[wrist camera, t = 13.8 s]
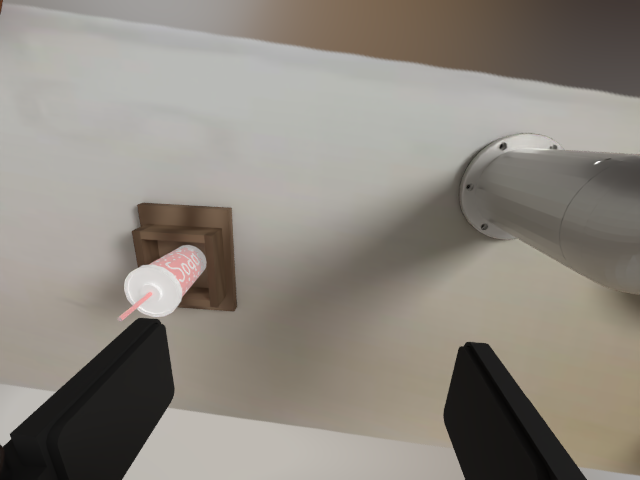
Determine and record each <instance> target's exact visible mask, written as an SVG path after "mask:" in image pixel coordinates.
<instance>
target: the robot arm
mask: <svg viewBox="0 0 640 480" xmlns="http://www.w3.org/2000/svg"><path fill="white" fill-rule="evenodd" d="M500 144H501V148H499V146H500ZM549 148H550V149H549ZM467 185H469V187H468V188H466V186H467ZM459 199H460V206H461V209H462V212H463V214H464V216H465V218H466V219H467V221H468V222H469V223H470V224H471V225H472V226H473V227H474V228H475V229H476V230H478V231H479V232H481V233H483V234H485V235H487V236H489V237H492V238H496V239H505V240H511V239H519V240H521V241H523V242H525V243H526V244H528V245H530V246H532V247H533V248H535V249H537V250H539V251H540V252H542V253H544V254H546V255H547V256H549V257H551V258H553V259H554V260H556V261H558V262H560V263H561V264H563V265H565V266H567V267H568V268H570V269H572V270H574V271H575V272H577V273H579V274H581V275H583V276H585V277H587V278H588V279H590V280H592V281H594V282H596V283H598V284H600V285H602V286H605V287H607V288H610V289H613V290H616V291H620V292H625V293H631V294H639V295H640V154H624V153H607V152H590V151H573V150H565V149H564V148H563V147H562V146H561V145H560V144H559V143H558V142H556V141H555V140H553V139H552V138H549V137H546V136H544V135H539V134H533V133H521V134H514V135H509V136H506V137H503V138H500V139H498V140H496V141H495V142H493V143H491V144H489V145H488V146H487V147H485V148H484V149H483V150H481V151H480V152H479V153H478V154H477V155H476V156H475V158H474V159H473V160H472V161H471V163H470V164H469V166H468V167H467V169H466V171H465V173H464V175H463V178H462V181H461V185H460V193H459ZM482 224H483V226H481V225H482ZM173 396H174V382H173V375H172V369H171V362H170V355H169V348H168V342H167V335H166V328H165V326H164V325H163V324H161V322H160V321H159V320H158V319H149V318H138V319H137V320H135V321H134V322H133V323H132V324H131V325H130V326H129V327H128V328H127V329H125V330H124V331H123V332H122V333H121V334H120V335H119V336H118V337H117V338H115V339H114V340H113V341H112V342H111V343H110V344H109V345H108V346H107V347H106V348H104V349H103V350H102V351H101V352H100V353H99V354H98V355H97V356H96V357H94V358H93V359H92V360H91V361H90V362H89V363H88V364H87V365H86V366H85V367H83V368H82V369H81V370H80V371H79V372H78V373H77V374H76V375H75V376H73V377H72V378H71V379H70V380H69V381H68V382H67V383H66V384H65V385H64V386H62V387H61V388H60V389H59V390H58V391H57V392H56V393H55V394H54V395H53V396H51V397H50V398H49V399H48V400H47V401H46V402H45V403H44V404H43V405H41V406H40V407H39V408H38V409H37V410H36V411H35V412H34V413H33V414H32V415H30V416H29V417H28V418H27V419H26V420H25V421H24V422H23V423H22V424H21V425H20V426H18V427H17V428H16V429H15V430H14V431H13V432H12V433H11V434H10V436H11V440H10V441H9V442H8V443H7V444H6V445H4V446H3V447H2V446H1V445H0V480H122V479H123V477H124V475H125V474H126V472H127V471H128V469H129V467H130V466H131V464H132V463H133V461H134V460H135V458H136V456H137V455H138V453H139V452H140V450H141V449H142V447H143V445H144V444H145V442H146V440H147V439H148V437H149V436H150V434H151V433H152V431H153V430H154V428H155V426H156V425H157V423H158V422H159V420H160V418H161V417H162V415H163V414H164V412H165V411H166V409H167V407H168V406H169V404H170V403H171V401H172V399H173ZM444 423H445V426H446V429H447V431H448V434H449V437H450V439H451V442H452V445H453V448H454V450H455V453H456V456H457V458H458V461H459V464H460V467H461V469H462V472H463V475H464V477H465V480H587V479H586V478H585V476H584V475H583V474H582V472H581V471H580V469H579V468H578V467H577V465H576V464H575V462H574V461H573V460H572V458H571V457H570V456H569V454H568V453H567V451H566V450H565V449H564V447H563V446H562V445H561V443H560V442H559V440H558V439H557V438H556V436H555V435H554V433H553V432H552V431H551V429H550V428H549V427H548V425H547V424H546V422H545V421H544V420H543V418H542V417H541V416H540V414H539V413H538V411H537V410H536V409H535V407H534V406H533V404H532V403H531V402H530V400H529V399H528V398H527V397H526V396H525V394H524V393H523V391H522V390H521V389H520V387H519V386H518V384H517V383H516V382H515V380H514V379H513V378H512V376H511V375H510V373H509V372H508V371H507V369H506V368H505V366H504V365H503V364H502V362H501V361H500V360H499V358H498V357H497V355H496V354H495V353H494V351H493V350H492V348H491V347H490V346H489V345H488V344H486V343H475V342H466V343H465V345H464V347H463V346H461V347H460V348H459V350H458V354H457V358H456V362H455V366H454V370H453V375H452V379H451V383H450V387H449V391H448V395H447V400H446V404H445V408H444Z"/></svg>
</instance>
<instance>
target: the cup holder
mask: <svg viewBox="0 0 640 480" xmlns="http://www.w3.org/2000/svg"><path fill="white" fill-rule="evenodd" d="M137 206H138V212H139V219H140V225H141V227H139V228H137V229H135V230H133V231H132V235H133V241H134V247H135V252H136V258H137V264H138V268H139V267H141V266H142V265H149V264H151V263H152V262H154V261H156V260H158V259H160V258H161V257H163V256H165V255H167V254H168V253H170V252H172V251H174V250H176V249H177V248H179V247H181V246H183V245H191V246H195V247H197V248H198V249H199V250H201V251H202V253H203V254H204V255H205V258H206V268H205V270H204V271H203V272H202V274H201V275H200V276H199V277H198V278H197V280H196V281H195V282H194V283H193V285H192V286H191V287H190V288H189V289H188V291H187V292H186V293H185V294H184V296H183V297H182V299H181V302H180V303H179V305H178V306H177V307H181V308H195V309H209V310H223V311H235V309H236V307H237V301H236V282H235V264H234V245H233V227H232V208H224V207H207V206H189V205H172V204H154V203H141V204H138V205H137Z"/></svg>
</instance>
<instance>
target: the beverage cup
mask: <svg viewBox="0 0 640 480" xmlns="http://www.w3.org/2000/svg"><path fill="white" fill-rule="evenodd" d="M205 268H206V258H205V255H204V254H203V253H202V251H201V250H199V249H198V248H197V247H195V246H191V245H183V246H181V247H179V248H177V249H176V250H174V251H172V252H170V253H168V254H167V255H165V256H163V257H161V258H160V259H158V260H156V261H154V262H152V263H151V264H149V265H142V266H141V267H139V268H137V269H135V270H133V271H132V272H130V273H129V275H128V276H127V278H126V279H125V284H124V291H125V294H126V297H127V299H128V301H129V302H130V303H131V304H132V305H133V306H131V307H130V308H129V309H128V310H126V311H125V312H124V313H123V314H122V315H120V316H119V317H118V318H117V320H118V321H120V322H121V321H122V320H124V319H125V318H126V317H127V316H128V315H130V314H131V313H132V312H133V311H134V310H135V309H137V310H138V311H140V312H142V313H143V314H146V315H149V316H153V317H160V316H166V315H168V314H170V313H172V312H173V311H174V310H175V309H176V307H177V306H178V305H179V303H180V302H181V299H182V297H183V296H184V294H185V293H186V292H187V291H188V289H189V288H190V287H191V286H192V285H193V283H194V282H195V281H196V280H197V278H198V277H199V276H200V275H201V274H202V272H203V271H204V270H205Z"/></svg>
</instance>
